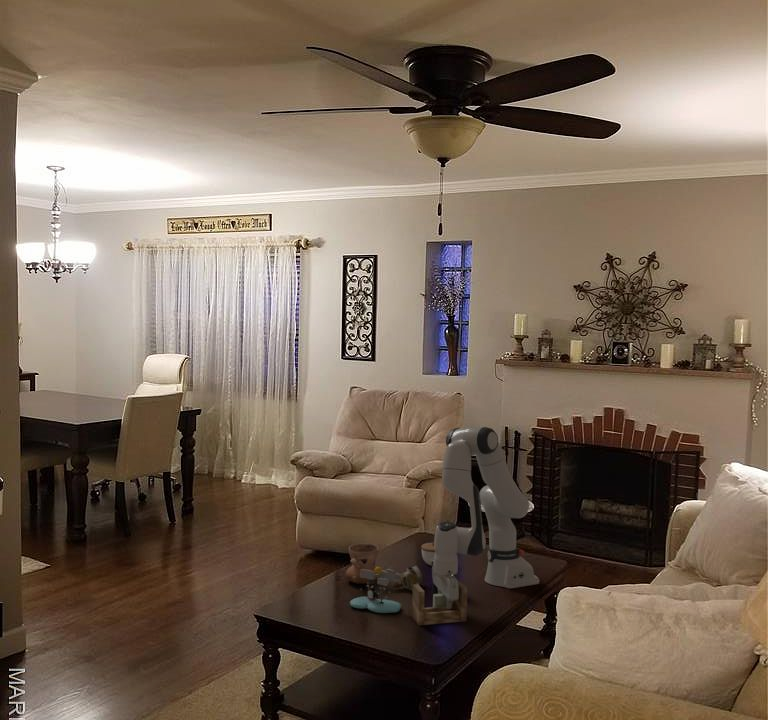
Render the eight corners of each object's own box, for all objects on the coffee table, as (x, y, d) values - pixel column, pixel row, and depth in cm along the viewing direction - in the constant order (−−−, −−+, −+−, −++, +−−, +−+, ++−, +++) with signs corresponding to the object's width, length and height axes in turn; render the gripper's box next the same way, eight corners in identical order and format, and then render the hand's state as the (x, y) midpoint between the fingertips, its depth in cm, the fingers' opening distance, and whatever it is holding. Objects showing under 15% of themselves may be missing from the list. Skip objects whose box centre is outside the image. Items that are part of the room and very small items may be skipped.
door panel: (455, 610, 285) (456, 592, 285) (457, 613, 283) (458, 594, 283) (432, 612, 283) (433, 594, 283) (434, 615, 281) (434, 596, 280)
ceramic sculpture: (428, 563, 313) (414, 576, 299) (428, 583, 313) (415, 597, 300) (404, 559, 317) (389, 572, 303) (404, 580, 318) (390, 593, 304)
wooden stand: (459, 612, 283) (459, 580, 282) (466, 621, 275) (467, 588, 275) (412, 616, 279) (412, 584, 278) (418, 625, 271) (419, 592, 270)
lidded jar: (416, 561, 343) (417, 540, 342) (437, 558, 347) (438, 538, 347) (428, 568, 333) (428, 547, 333) (449, 565, 338) (450, 544, 337)
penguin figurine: (345, 608, 286) (346, 568, 286) (359, 599, 296) (359, 560, 295) (393, 618, 278) (394, 576, 277) (406, 608, 287) (406, 568, 286)
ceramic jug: (366, 590, 305) (367, 555, 304) (337, 583, 312) (337, 549, 312) (390, 578, 320) (390, 544, 319) (361, 571, 328) (361, 539, 327)
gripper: (463, 575, 273) (462, 614, 273) (445, 558, 292) (444, 593, 293) (446, 577, 271) (445, 615, 272) (429, 559, 291) (428, 595, 292)
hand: (445, 604), depth 283 cm, fingers open, 7 cm apart
